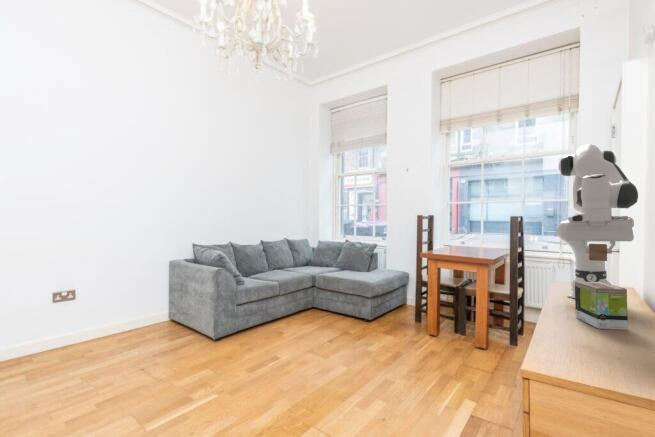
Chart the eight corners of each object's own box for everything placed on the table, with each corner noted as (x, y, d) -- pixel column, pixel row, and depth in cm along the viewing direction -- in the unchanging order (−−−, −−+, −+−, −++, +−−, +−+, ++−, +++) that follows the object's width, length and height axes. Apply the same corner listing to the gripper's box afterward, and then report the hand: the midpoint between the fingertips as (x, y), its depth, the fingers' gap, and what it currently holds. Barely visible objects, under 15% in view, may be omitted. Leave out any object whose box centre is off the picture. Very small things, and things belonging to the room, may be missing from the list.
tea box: (629, 330, 115) (628, 288, 115) (596, 329, 117) (595, 288, 117) (603, 318, 130) (601, 280, 130) (574, 317, 132) (573, 280, 132)
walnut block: (588, 258, 128) (588, 243, 128) (605, 259, 125) (605, 244, 125) (589, 260, 124) (589, 244, 124) (607, 261, 121) (607, 244, 121)
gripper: (631, 215, 121) (633, 253, 121) (563, 217, 133) (564, 251, 132) (635, 215, 116) (636, 254, 115) (563, 217, 127) (565, 253, 127)
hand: (597, 253), depth 124 cm, fingers closed on walnut block, 5 cm apart
